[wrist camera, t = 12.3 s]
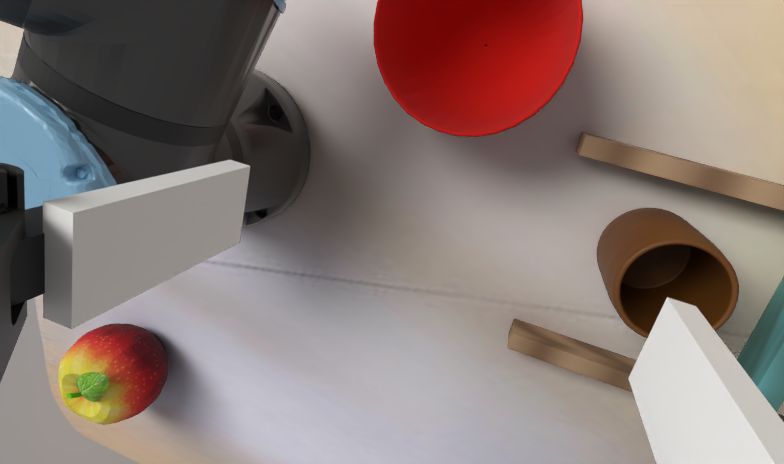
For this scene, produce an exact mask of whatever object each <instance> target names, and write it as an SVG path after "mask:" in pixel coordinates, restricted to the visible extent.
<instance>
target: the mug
mask: <svg viewBox="0 0 784 464" xmlns="http://www.w3.org/2000/svg"><path fill="white" fill-rule="evenodd" d="M597 261H598V266H599V269H600V272H601V275H602V278H603V281H604V284H605V287H606V289H607V292H608V295H609V297H610V300H611V302H612V304H613V306H614V307H615V309H616V311H617V312H618V314H619V316H620V317H621V319H622V320H623V321H624V323H625V324H626V325H627V326H628V327H630V328H631V329H632V330H633V331H635V332H636V333H638V334H640V335H641V336H643V337H646V338H648V336H649V334H650V332H651V330H652V328H653V326H654V324H655V322H656V319H657V317H658V315H659V313H660V311H661V309H662V307H663V305H664V303H665V301H666V299H667V297H668V298H671V299H675V300H678V301H681V302H684V303H687V304H690V305H694V306H696V307H697V308H698V309H699V311H700V312H701V313H702V315H703V316H704V317H705V319H706V320H707V321H708V323H709V324H710V325H711V327H712V328H713V329H714V331H716V330H717V329H719V328H720V327H721V326H722V325H723V324H724V323H725V322H726V321H727V320H728V319H729V317H730V316H731V314H732V313H733V310H734V308H735V306H736V303H737V300H738V294H739V284H738V279H737V276H736V273H735V271H734V269H733V267H732V265H731V264H730V262H729V261H728V260H727V259H726V257H725V256H724V255H723V254H722V252H721V251H720V250H719V249H718V248H717V247H716V246H715V245H714V244H713V243H712V242H711V241H710V240H708V239H707V238H706V237H705V236H704V235H703V234H701V233H700V232H699V231H698V230H697V229H695V228H694V227H693V226H691V225H690V224H689V223H688V222H687V221H685V220H684V219H683V218H681V217H680V216H678V215H676V214H674V213H672V212H669V211H666V210H662V209H656V208H641V209H636V210H632V211H629V212H626V213H624V214H622V215H620V216H619V217H617V218H616V219H614V220H613V221H612V222H611V223H610V224H609V225H608V226H607V227H606V229H605V230H604V231H603V233H602V235H601V237H600V240H599V242H598V247H597Z"/></svg>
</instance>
